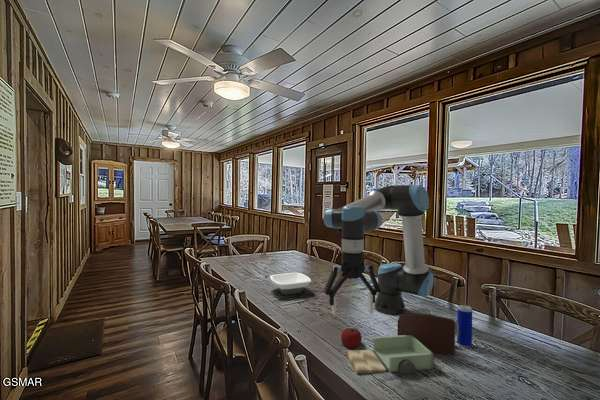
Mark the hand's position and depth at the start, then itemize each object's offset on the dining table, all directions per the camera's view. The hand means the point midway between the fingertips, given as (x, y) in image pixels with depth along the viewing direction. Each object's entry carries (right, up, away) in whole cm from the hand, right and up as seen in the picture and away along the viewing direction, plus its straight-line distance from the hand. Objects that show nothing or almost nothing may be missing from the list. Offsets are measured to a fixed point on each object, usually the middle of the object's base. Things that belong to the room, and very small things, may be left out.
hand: (352, 313), depth 103 cm
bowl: (-24, -17, +79) cm, 84 cm away
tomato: (+2, -18, +14) cm, 23 cm away
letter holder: (+31, -19, +15) cm, 39 cm away
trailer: (+18, -18, +3) cm, 26 cm away
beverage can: (+47, -19, +16) cm, 53 cm away
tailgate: (+10, -17, +2) cm, 20 cm away
